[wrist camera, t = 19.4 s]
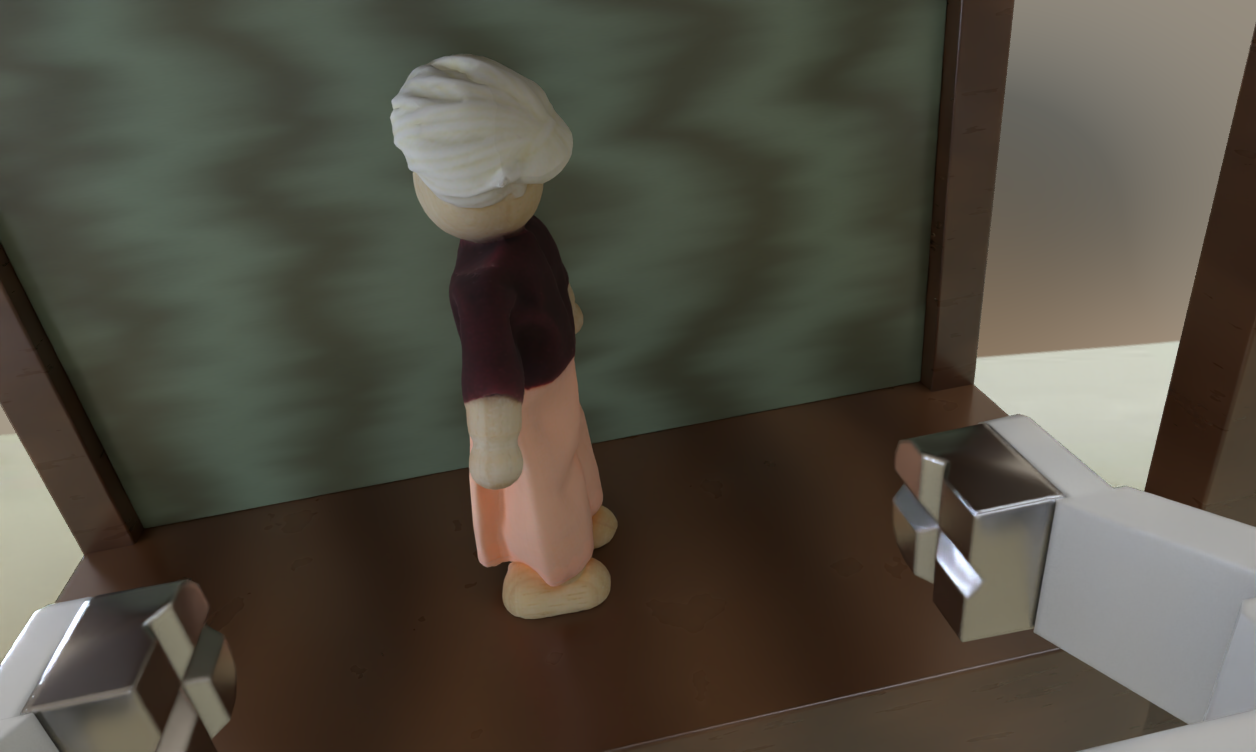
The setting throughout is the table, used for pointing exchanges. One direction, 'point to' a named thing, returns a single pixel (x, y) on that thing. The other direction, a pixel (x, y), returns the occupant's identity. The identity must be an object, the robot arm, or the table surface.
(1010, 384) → the table surface
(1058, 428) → the table surface
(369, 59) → the shelf
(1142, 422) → the table surface
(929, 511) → the robot arm
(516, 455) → the grandmother figurine
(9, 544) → the table surface
